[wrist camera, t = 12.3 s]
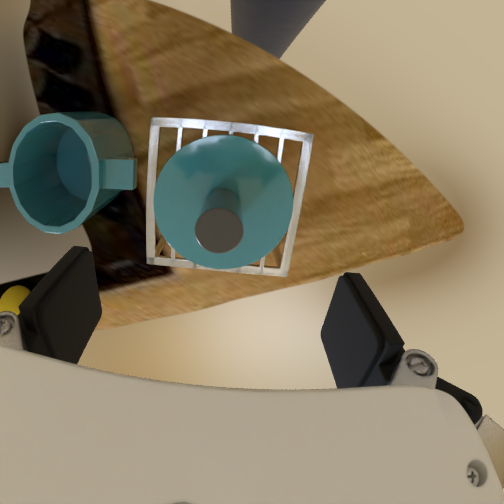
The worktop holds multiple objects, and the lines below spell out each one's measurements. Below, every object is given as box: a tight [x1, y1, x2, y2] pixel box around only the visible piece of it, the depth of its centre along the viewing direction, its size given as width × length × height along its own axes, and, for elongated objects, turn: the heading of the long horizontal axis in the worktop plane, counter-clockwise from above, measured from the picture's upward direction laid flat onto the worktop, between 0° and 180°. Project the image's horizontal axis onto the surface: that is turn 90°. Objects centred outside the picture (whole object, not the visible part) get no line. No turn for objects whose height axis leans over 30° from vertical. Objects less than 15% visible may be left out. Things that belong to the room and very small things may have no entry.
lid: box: [153, 135, 293, 269], centre depth 21 cm, size 11×11×7 cm
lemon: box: [0, 286, 31, 315], centre depth 30 cm, size 6×6×8 cm
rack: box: [146, 117, 314, 277], centre depth 26 cm, size 13×13×6 cm
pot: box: [0, 112, 138, 234], centre depth 23 cm, size 10×16×8 cm, turn 83°
